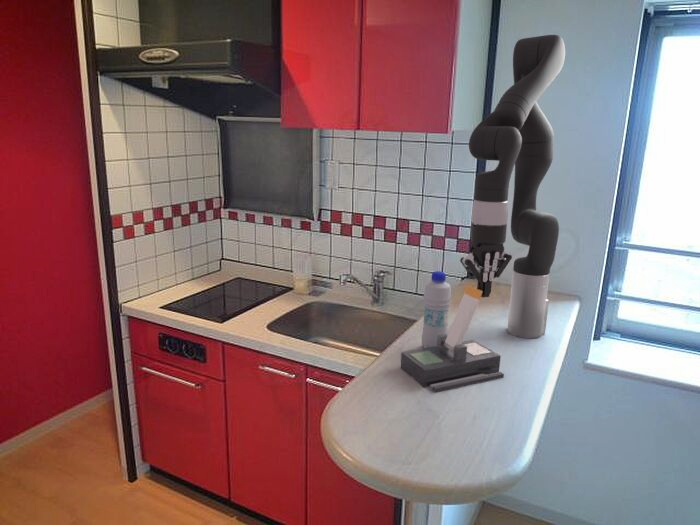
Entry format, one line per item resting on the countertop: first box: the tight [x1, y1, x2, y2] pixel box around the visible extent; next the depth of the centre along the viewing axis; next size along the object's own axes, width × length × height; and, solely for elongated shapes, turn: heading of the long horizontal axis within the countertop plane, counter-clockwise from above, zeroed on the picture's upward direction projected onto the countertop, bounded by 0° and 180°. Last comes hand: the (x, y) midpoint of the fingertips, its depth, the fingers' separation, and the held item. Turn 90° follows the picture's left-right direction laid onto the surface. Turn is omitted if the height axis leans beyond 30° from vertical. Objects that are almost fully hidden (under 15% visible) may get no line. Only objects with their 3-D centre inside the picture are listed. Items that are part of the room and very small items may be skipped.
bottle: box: [421, 270, 452, 348], centre depth 129 cm, size 7×7×20 cm
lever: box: [444, 284, 483, 352], centre depth 118 cm, size 2×4×15 cm, turn 25°
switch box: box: [400, 333, 501, 389], centre depth 119 cm, size 20×10×7 cm, turn 115°
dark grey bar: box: [429, 371, 505, 393], centre depth 114 cm, size 18×2×1 cm, turn 114°
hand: (483, 296), depth 119 cm, fingers closed
